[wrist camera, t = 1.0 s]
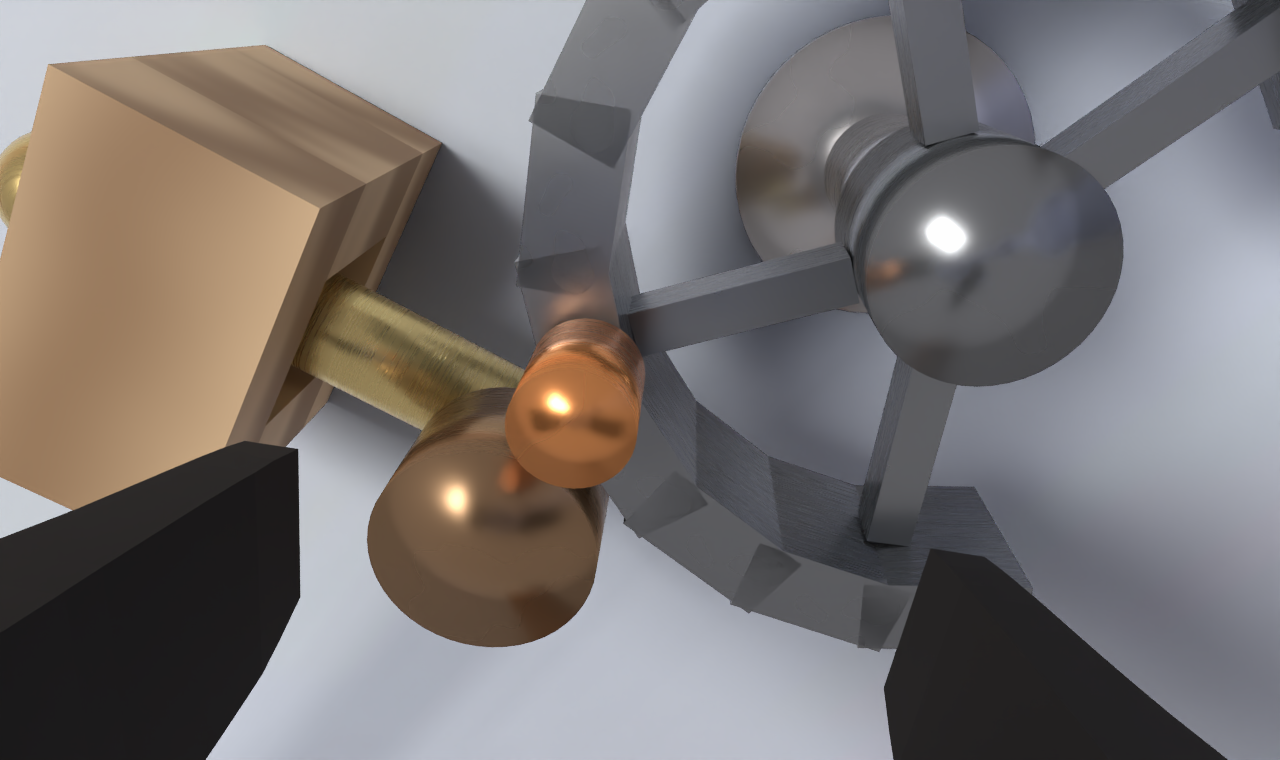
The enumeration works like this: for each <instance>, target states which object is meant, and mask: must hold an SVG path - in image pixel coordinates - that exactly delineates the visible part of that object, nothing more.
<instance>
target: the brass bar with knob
mask: <svg viewBox="0 0 1280 760" xmlns="http://www.w3.org/2000/svg"><path fill="white" fill-rule="evenodd" d="M30 136H31V132H30V133H27V134H25V135H23V136H21V137H19V138H18V139H16V140H15V141H13V142H12V143H11V144H10V145H9V146H8V147H7V148H6V149H5V150H4V151H3V152H2V154H1V155H0V218H1V219H2V221H3V222H4V224H5V225H6V226H7V228H8V226H9V222H10V218H11V214H12V210H13V206H14V202H15V197H16V193H17V189H18V185H19V181H20V177H21V173H22V169H23V165H24V161H25V157H26V153H27V149H28V145H29V141H30ZM291 365H292V366H294V367H296V368H298V369H300V370H302V371H304V372H306V373H308V374H310V375H312V376H314V377H316V378H318V379H320V380H322V381H324V382H326V383H328V384H330V385H332V386H334V387H336V388H338V389H340V390H342V391H344V392H346V393H348V394H350V395H352V396H354V397H356V398H358V399H360V400H362V401H364V402H366V403H368V404H370V405H372V406H374V407H376V408H378V409H380V410H382V411H384V412H386V413H388V414H390V415H392V416H394V417H396V418H398V419H400V420H402V421H404V422H406V423H408V424H410V425H412V426H414V427H416V428H418V429H420V430H422V431H421V433H420V435H419V436H418V438H417V439H416V441H415V442H414V444H413V445H412V447H411V448H410V450H409V452H408V453H407V455H406V456H405V458H404V459H403V461H402V462H401V464H400V465H399V467H398V469H397V470H396V472H395V473H394V475H393V476H392V478H391V479H390V481H389V482H388V484H387V486H386V487H385V489H384V490H383V492H382V493H381V495H380V497H379V498H378V500H377V502H376V503H375V506H374V508H373V511H372V513H371V516H370V521H369V525H368V535H367V544H368V553H369V557H370V562H371V565H372V568H373V570H374V573H375V575H376V578H377V580H378V581H379V583H380V585H381V587H382V588H383V590H384V591H385V593H386V594H387V595H388V597H389V598H390V599H391V601H392V602H393V603H394V604H395V605H396V606H397V607H398V608H399V609H400V610H401V611H402V612H403V613H404V614H406V615H407V616H408V617H409V618H410V619H412V620H413V621H415V622H416V623H418V624H419V625H421V626H422V627H424V628H425V629H427V630H429V631H431V632H433V633H435V634H437V635H440V636H442V637H445V638H447V639H450V640H453V641H456V642H460V643H463V644H469V645H474V646H483V647H507V646H515V645H521V644H525V643H529V642H532V641H535V640H538V639H540V638H543V637H545V636H547V635H549V634H551V633H553V632H555V631H556V630H558V629H559V628H561V627H562V626H563V625H565V624H566V623H567V622H568V621H569V620H570V619H572V618H573V617H574V616H575V615H576V614H577V612H578V611H579V610H580V608H581V607H582V606H583V604H584V603H585V601H586V599H587V597H588V595H589V594H590V591H591V588H592V585H593V583H594V578H595V573H596V568H597V562H598V556H599V551H600V545H601V540H602V534H603V528H604V523H605V517H606V512H607V506H608V500H609V495H608V493H607V492H606V490H605V489H604V487H603V486H602V485H601V484H599V485H595V486H592V487H587V488H576V489H573V488H563V487H557V486H554V485H551V484H548V483H546V482H543V481H541V480H539V479H538V478H536V477H534V476H533V475H532V474H530V473H529V472H527V471H526V470H525V469H524V468H523V467H522V466H521V465H520V463H519V462H518V461H517V460H516V458H515V457H514V455H513V454H512V452H511V450H510V448H509V445H508V442H507V439H506V434H505V416H506V412H507V408H508V406H509V403H510V401H511V399H512V397H513V395H514V393H515V391H516V388H517V386H518V384H519V382H520V380H521V378H522V376H523V374H524V372H525V370H524V369H522V368H520V367H518V366H516V365H514V364H513V363H511V362H509V361H507V360H505V359H503V358H501V357H499V356H497V355H495V354H493V353H491V352H489V351H488V350H486V349H484V348H482V347H480V346H478V345H476V344H474V343H472V342H470V341H468V340H466V339H465V338H463V337H461V336H459V335H457V334H455V333H453V332H451V331H449V330H447V329H445V328H443V327H442V326H440V325H438V324H436V323H434V322H432V321H430V320H428V319H426V318H424V317H422V316H420V315H418V314H417V313H415V312H413V311H411V310H409V309H407V308H405V307H403V306H401V305H399V304H397V303H395V302H394V301H392V300H390V299H388V298H386V297H384V296H382V295H380V294H378V293H376V292H374V291H372V290H371V289H369V288H367V287H365V286H363V285H361V284H359V283H357V282H355V281H353V280H351V279H349V278H347V277H346V276H344V275H342V274H340V273H338V272H337V273H336V274H335V275H333V276H332V277H331V278H329V279H328V280H327V281H326V282H325V284H324V287H323V289H322V291H321V294H320V296H319V299H318V301H317V304H316V306H315V308H314V311H313V313H312V316H311V318H310V320H309V323H308V325H307V328H306V330H305V332H304V335H303V337H302V340H301V342H300V344H299V347H298V349H297V352H296V354H295V356H294V359H293V361H292V364H291Z"/></svg>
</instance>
